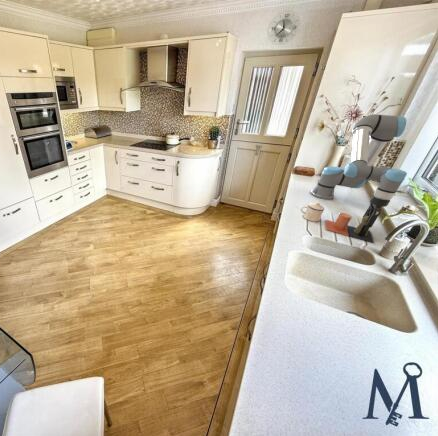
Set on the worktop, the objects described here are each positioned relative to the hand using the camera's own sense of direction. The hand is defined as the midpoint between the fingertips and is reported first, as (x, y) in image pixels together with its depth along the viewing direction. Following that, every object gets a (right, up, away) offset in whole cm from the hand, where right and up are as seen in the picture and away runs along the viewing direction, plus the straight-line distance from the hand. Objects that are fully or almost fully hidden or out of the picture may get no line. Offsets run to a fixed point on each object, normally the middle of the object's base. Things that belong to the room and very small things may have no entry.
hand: (360, 232), depth 139 cm
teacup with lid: (-20, +9, +16) cm, 27 cm away
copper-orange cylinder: (-9, +3, +5) cm, 11 cm away
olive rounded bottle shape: (0, 0, 0) cm, 0 cm away
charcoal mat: (0, -1, 0) cm, 1 cm away
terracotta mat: (-10, +2, +6) cm, 12 cm away
